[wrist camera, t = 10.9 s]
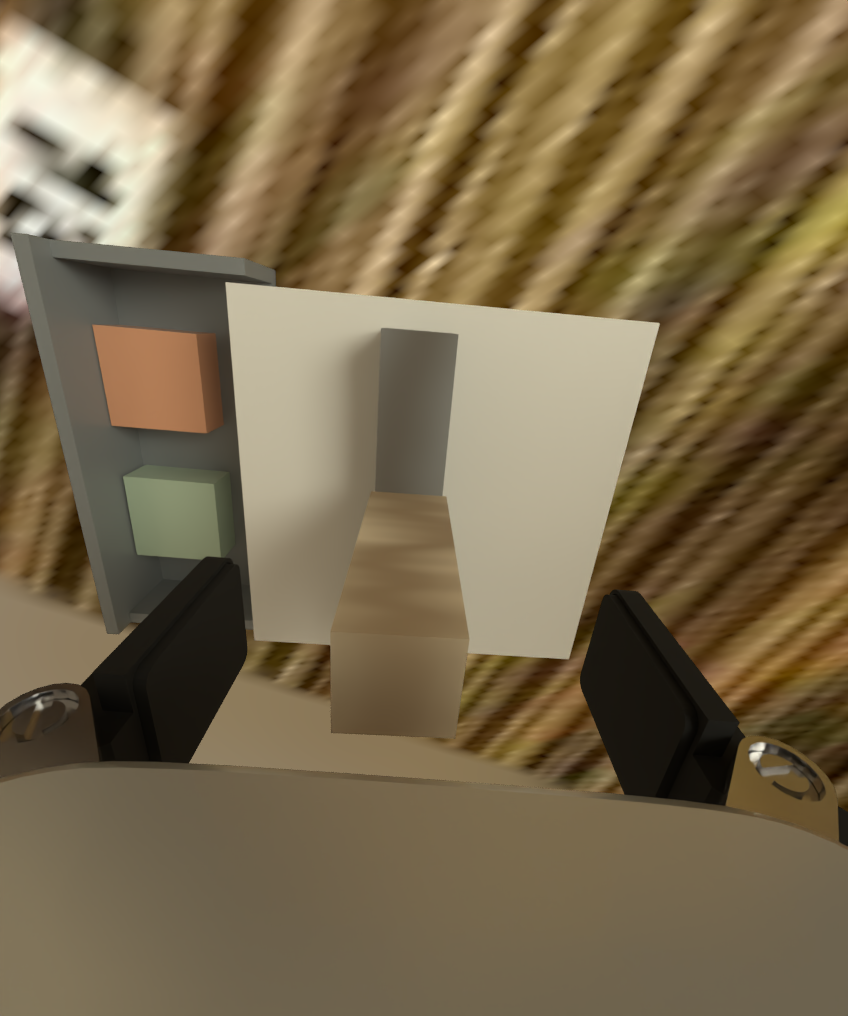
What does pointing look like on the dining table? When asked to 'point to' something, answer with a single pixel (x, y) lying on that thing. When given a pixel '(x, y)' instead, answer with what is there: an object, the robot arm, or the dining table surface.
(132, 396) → the terracotta tile
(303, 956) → the robot arm
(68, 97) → the dining table surface
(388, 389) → the scraper
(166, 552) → the green tile
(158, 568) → the tray
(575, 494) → the white flat square block
